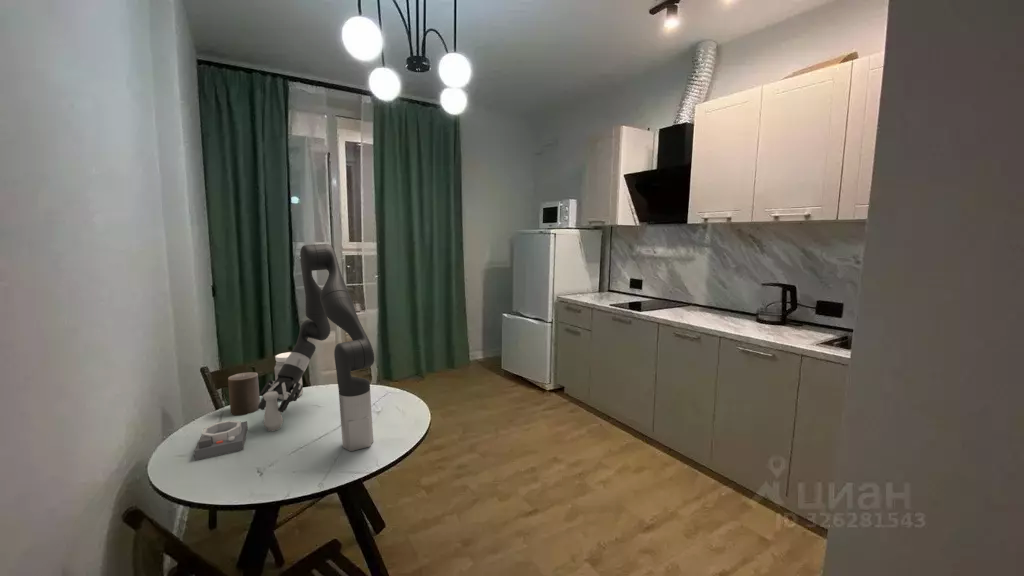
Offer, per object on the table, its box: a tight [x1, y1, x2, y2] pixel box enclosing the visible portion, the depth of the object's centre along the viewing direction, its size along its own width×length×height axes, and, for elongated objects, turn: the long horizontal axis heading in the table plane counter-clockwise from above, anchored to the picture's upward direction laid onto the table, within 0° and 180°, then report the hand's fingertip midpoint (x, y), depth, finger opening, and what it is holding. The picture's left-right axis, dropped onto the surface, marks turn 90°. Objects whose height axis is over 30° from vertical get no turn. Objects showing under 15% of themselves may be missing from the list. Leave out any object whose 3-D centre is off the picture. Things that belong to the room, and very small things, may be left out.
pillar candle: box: [227, 372, 261, 416], centre depth 156 cm, size 10×10×15 cm
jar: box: [273, 351, 304, 401], centre depth 169 cm, size 10×10×18 cm
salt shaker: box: [263, 390, 284, 432], centre depth 140 cm, size 6×6×13 cm
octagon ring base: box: [193, 419, 249, 461], centre depth 131 cm, size 16×12×6 cm
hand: (270, 410), depth 139 cm, fingers open, 8 cm apart
